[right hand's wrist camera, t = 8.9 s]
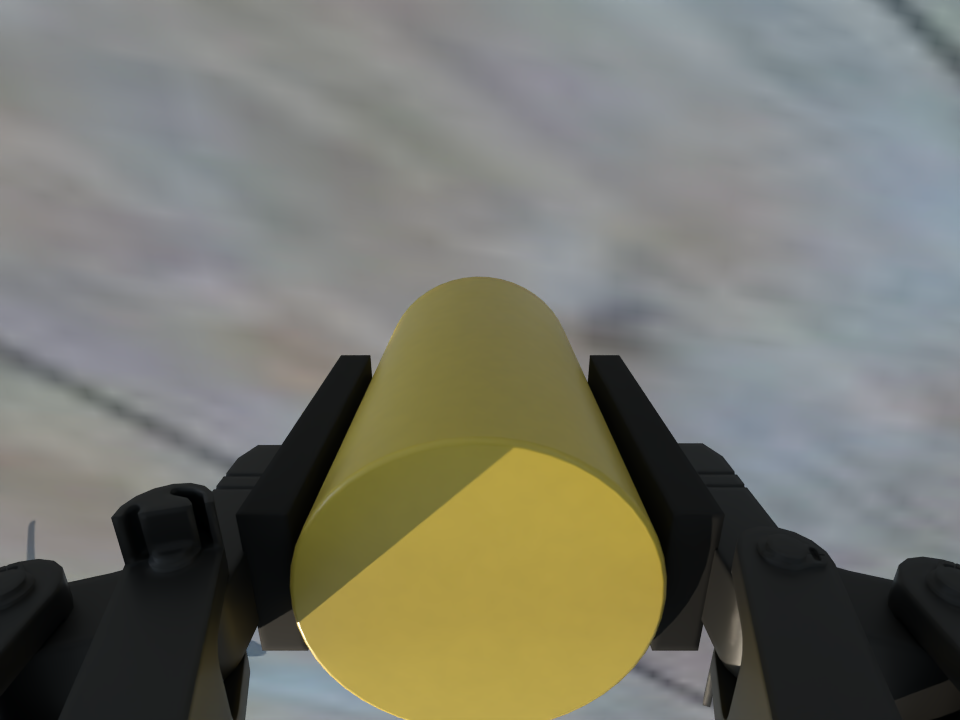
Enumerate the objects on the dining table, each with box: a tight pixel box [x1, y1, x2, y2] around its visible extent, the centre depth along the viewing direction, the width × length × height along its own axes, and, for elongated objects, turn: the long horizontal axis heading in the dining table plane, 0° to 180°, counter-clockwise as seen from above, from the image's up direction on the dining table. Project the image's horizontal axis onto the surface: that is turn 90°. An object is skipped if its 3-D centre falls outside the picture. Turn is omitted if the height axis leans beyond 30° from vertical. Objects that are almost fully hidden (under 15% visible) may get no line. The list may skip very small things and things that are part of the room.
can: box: [290, 277, 667, 720], centre depth 13 cm, size 6×6×10 cm
